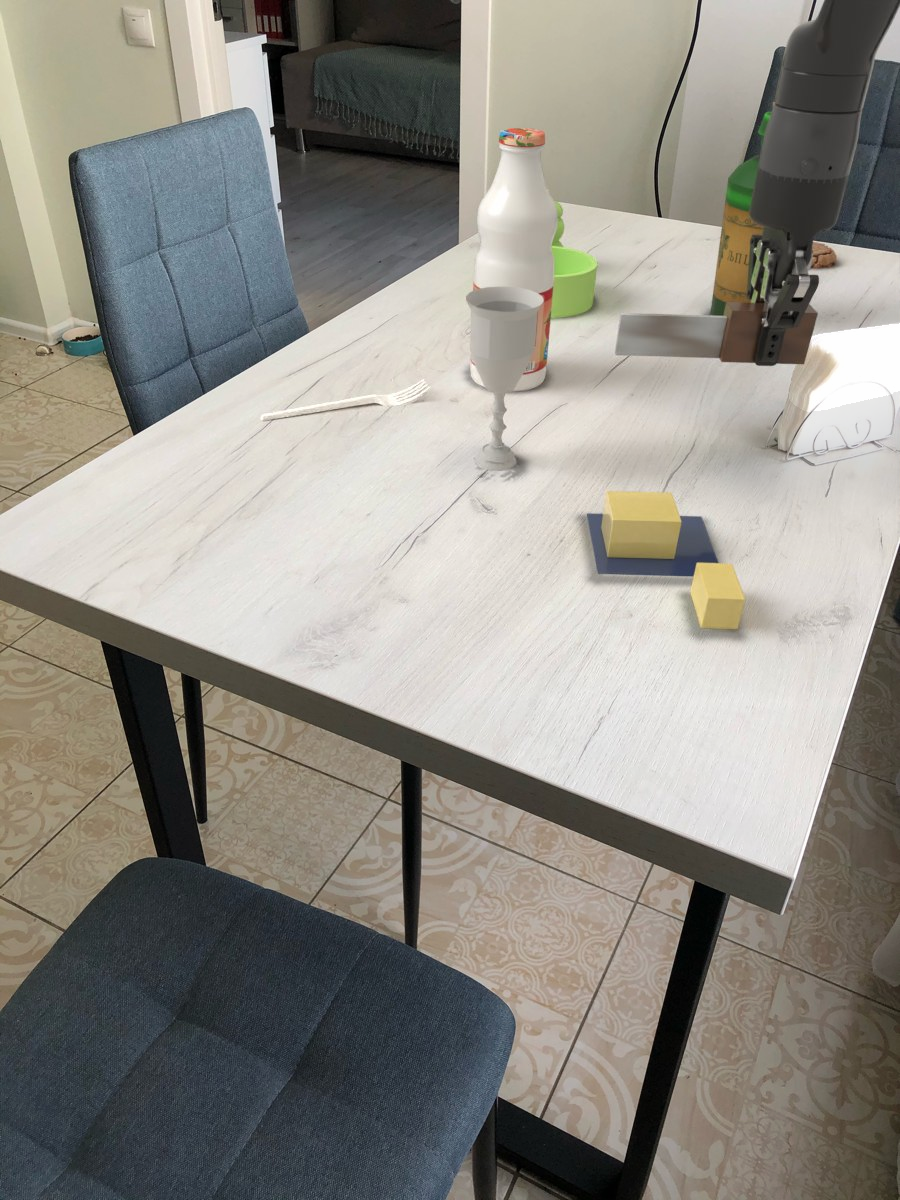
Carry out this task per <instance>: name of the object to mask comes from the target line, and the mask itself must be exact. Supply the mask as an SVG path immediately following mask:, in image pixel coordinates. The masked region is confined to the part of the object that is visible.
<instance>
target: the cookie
mask: <svg viewBox="0 0 900 1200" xmlns="http://www.w3.org/2000/svg"><path fill="white" fill-rule="evenodd" d="M812 250H813V258H812V263H811V267H810V269H815V270H816V269H818V270H819V269H822V268H823V269H824V268H825V269H826V268H832V266H836V264H837V254H836V252H835V250H834V249H833V248H832V247H829V246H828V245H826V244H825V243H822V242H817V241H813V246H812Z"/></svg>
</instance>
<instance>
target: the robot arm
mask: <svg viewBox="0 0 900 1200" xmlns="http://www.w3.org/2000/svg"><path fill="white" fill-rule="evenodd" d="M899 9H900V0H823V2H822V5H821V7H820V10H819V12H818V14H817V16H816V18H815V19H811V20H808V21H804V22H802V23H801V24H799V25H797V26H796V27H795V28H794V29H793V30H792V31H791V33H790V35H789V37H788V39H787V41H786V45H785V49H784V53H783V56H782V62H781V68H780V71H779V76H778V81H777V82H778V83H777V87H776V90H775V91H776V92H775V97H774V102H775V103H774V105H773V104H772V110H771V111H770V112H771V116H770V119H769V121H768V124H767V128H766V131H765V135H764V139H763V144H762V149H761V154H760V153H759V154H760V159H759V164H758V169H757V174H756V179H755V184H754V189H753V194H752V199H751V204H750V209H749V216H750V218H751V220H752V221H753V222H755V223H756V224H758V225H760V226H763V227H764V229H763V234H760V235H752V236H751V239H750V253H749V268H748V282H747V292H746V295H747V299H748V300H751V303H764V307H763V313H762V318H761V326H760V331H759V335H758V339H757V344H756V348H755V353H754V357H753V361H754V363H753V364H755V365H756V366H758V367H773V366H776V365H778V364H777V362H778V359H779V355H780V351H781V347H782V343H783V339H784V334H785V330H786V328H797V327H798V325H799V323H800V321H801V319H802V317H803V315H804V313H805V311H806V309H807V307H808V305H809V304H811V302H812V299H813V297H814V295H815V293H816V292H817V289H818V287H819V284H820V277H819V275H818V274H809V270H811V268H810V267H811V263H812V258H813V250H812V246H813V242H814V237H815V236H816V235H817V234H819V233H820V232H825V231H826V232H827V231H829V230H831V229H832V228H833V227H835V226H836V225H837V223H838V219H839V216H840V212H841V209H842V204H843V201H844V200H843V199H844V196H845V192H846V188H847V184H848V182H849V181H848V180H849V177H850V173H851V168H852V166H853V165H852V164H853V161H854V158H855V153H856V149H857V145H858V141H859V135H860V126H861V120H862V119H861V118H862V113H863V109H864V106H865V105H864V104H865V101H866V98H867V95H868V94H867V93H868V89H869V86H870V81H871V78H872V74H873V73H872V72H873V70H874V66H875V65H874V64H875V61H876V60H875V59H876V56H877V52H878V50H879V48H880V47H881V44H882V43H883V41H884V39H885V37H886V35H887V33H888V32H889V30H890V29H891V26H892V24H893V22H894V20H895V18H896V15H897V13H898V11H899ZM773 305H774V307H773ZM783 312H784V313H783ZM782 313H783V314H782Z"/></svg>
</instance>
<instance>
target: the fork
mask: <svg viewBox="0 0 900 1200" xmlns="http://www.w3.org/2000/svg"><path fill="white" fill-rule="evenodd" d="M430 389H431V386H429V384H428V383H427V381H425V379H421V380H420V381H418V382H417V383H415V384H413V385H411V386H409V387H407V388H405V389H402V390H400V391H397V392H393V393H390V394H375V393H374V394H368V395H362V396H356V397H351V398H344V399H340V400H334V401H328V402H323V403H317V404H312V405H311V404H310V405H306V406H301V407H296V408H290V409H284V410H278V411H274V412H268V413H263V414H261V415H260V421H262V422H265V421H269V420H276V419H277V420H278V419H283V418H289V417H295V416H301V415H308V414H313V413H319V412H325V411H331V410H337V409H344V408H351V407H355V406H362V405H368V404H378V405H380V406H383V407H396V406H403V405H411V404H412V403H413V402H415V401H417V400H419V399H420V398H421V397H422V396H423V395H424V394H426V393H427V392H428V391H429V390H430Z"/></svg>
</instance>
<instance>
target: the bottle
mask: <svg viewBox="0 0 900 1200" xmlns="http://www.w3.org/2000/svg"><path fill="white" fill-rule="evenodd" d="M774 103H775V101H773V102H772V106H773V105H774ZM771 112H772V111H767V112H765V113H764V115H763V118H762V120H761V123H760V126H759V128H758V130H757V134H759V135H760V136H761V139H760V146H759V154H757V155H754V156H752V157H750V158H749V159H747V160H746V161H744V162H742V163H741V164H738V165H737V167H736V168H735V169H734V171H733V172H732V173H731V174H730V175H729V176H728V178H727V183H726V192H725V199H724V208H723V215H722V223H721V229H720V230H721V231H720V237H719V244H718V254H717V259H716V260H717V261H716V268H715V276H714V281H713V282H714V283H713V290H712V298H711V305H710V312H709V314H710V316H723V315H724V310H725V306H726V302H744V303H751V300H748V299H747V295H746V292H747V282H748V268H749V253H750V239H751V236H752V235H760V234H763V229H764V227H763V226H760V225H758V224H756V223H755V222H753V221H752V220H751V218H750V216H749V209H750V204H751V199H752V194H753V189H754V184H755V179H756V174H757V169H758V164H759V159H760V154H761V149H762V144H763V139H764V135H765V131H766V128H767V124H768V121H769V119H770V116H771Z"/></svg>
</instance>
